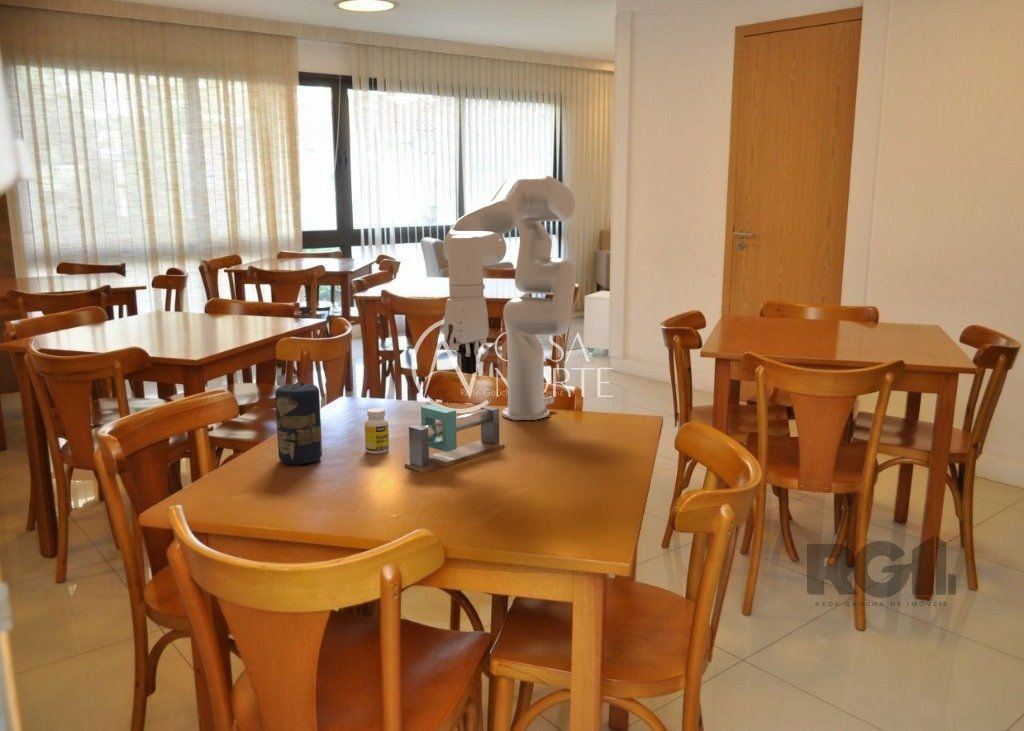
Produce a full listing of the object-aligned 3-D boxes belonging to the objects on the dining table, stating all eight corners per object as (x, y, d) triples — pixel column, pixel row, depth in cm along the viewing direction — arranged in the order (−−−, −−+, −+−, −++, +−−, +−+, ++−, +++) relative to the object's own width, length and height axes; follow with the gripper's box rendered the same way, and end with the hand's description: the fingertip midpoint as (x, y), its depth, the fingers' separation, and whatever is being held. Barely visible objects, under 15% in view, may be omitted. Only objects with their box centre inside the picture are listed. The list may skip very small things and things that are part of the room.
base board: (485, 441, 202) (485, 438, 202) (504, 447, 198) (504, 443, 198) (404, 466, 184) (404, 462, 184) (424, 473, 180) (424, 469, 180)
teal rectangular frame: (432, 441, 191) (431, 404, 189) (456, 448, 185) (455, 410, 184) (422, 444, 188) (420, 406, 187) (446, 451, 183) (445, 413, 181)
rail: (487, 443, 201) (486, 405, 199) (499, 446, 199) (499, 408, 197) (410, 467, 184) (408, 426, 182) (422, 471, 181) (421, 430, 179)
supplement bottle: (377, 455, 192) (375, 414, 190) (360, 451, 196) (358, 410, 194) (394, 450, 197) (392, 409, 195) (377, 446, 200) (376, 405, 198)
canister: (269, 463, 187) (264, 384, 184) (299, 452, 196) (294, 375, 192) (303, 469, 183) (298, 388, 179) (331, 457, 191) (327, 379, 188)
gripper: (478, 286, 195) (480, 364, 199) (429, 294, 184) (432, 376, 188) (502, 289, 190) (503, 368, 194) (453, 297, 179) (456, 381, 183)
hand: (468, 372), depth 191 cm, fingers closed
